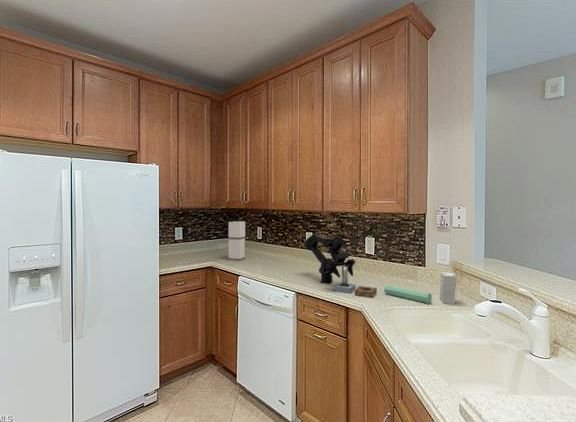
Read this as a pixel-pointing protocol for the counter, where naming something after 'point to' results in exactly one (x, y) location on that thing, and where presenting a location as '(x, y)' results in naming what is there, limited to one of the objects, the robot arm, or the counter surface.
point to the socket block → (344, 288)
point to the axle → (345, 276)
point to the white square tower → (236, 241)
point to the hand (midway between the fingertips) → (346, 276)
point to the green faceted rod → (408, 294)
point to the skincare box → (447, 287)
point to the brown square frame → (365, 291)
